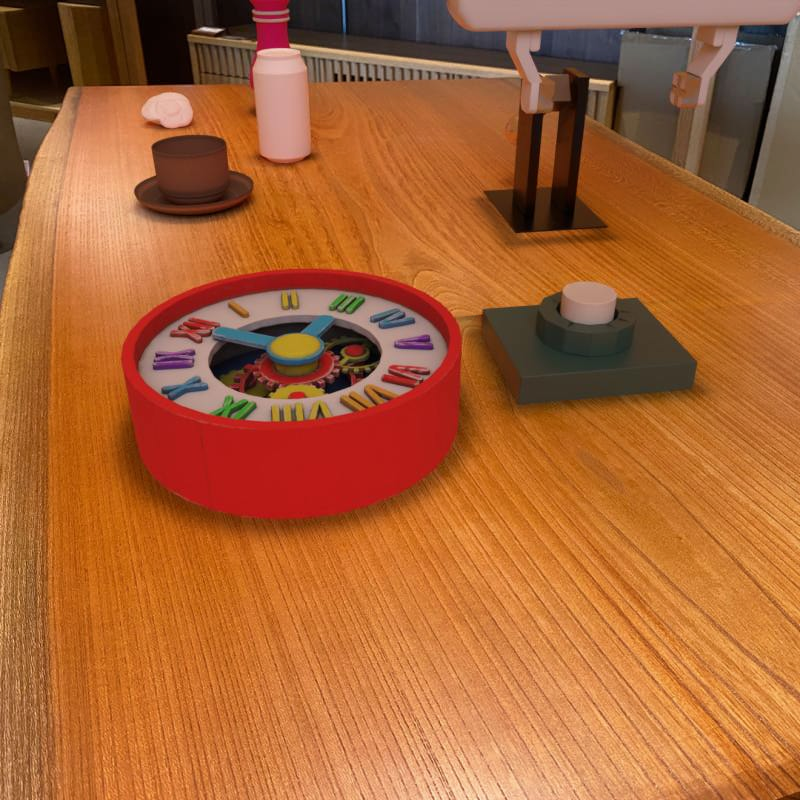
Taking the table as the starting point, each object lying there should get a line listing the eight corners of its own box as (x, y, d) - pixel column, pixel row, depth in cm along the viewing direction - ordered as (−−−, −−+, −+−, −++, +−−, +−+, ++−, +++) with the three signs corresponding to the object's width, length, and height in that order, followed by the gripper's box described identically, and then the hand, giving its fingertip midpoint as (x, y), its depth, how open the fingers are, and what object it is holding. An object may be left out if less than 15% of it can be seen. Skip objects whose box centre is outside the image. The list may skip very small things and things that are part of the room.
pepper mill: (285, 104, 124) (275, -49, 114) (313, 113, 120) (305, -45, 109) (243, 111, 121) (228, -46, 110) (270, 121, 116) (257, -42, 105)
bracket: (482, 201, 88) (490, 62, 80) (565, 197, 89) (580, 59, 82) (514, 244, 78) (526, 89, 70) (606, 238, 79) (628, 85, 72)
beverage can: (250, 157, 101) (240, 51, 95) (292, 148, 105) (285, 45, 98) (279, 169, 97) (271, 59, 91) (322, 158, 101) (317, 52, 94)
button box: (632, 323, 64) (640, 274, 62) (692, 390, 56) (703, 337, 54) (480, 335, 63) (483, 285, 60) (518, 406, 54) (523, 352, 52)
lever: (502, 153, 88) (499, 118, 88) (535, 151, 89) (532, 117, 89) (540, 108, 75) (537, 68, 75) (579, 106, 76) (575, 67, 76)
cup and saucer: (125, 196, 89) (115, 137, 86) (234, 179, 94) (228, 123, 91) (152, 232, 80) (142, 168, 77) (271, 212, 85) (266, 151, 82)
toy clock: (381, 466, 39) (42, 381, 45) (382, 560, 42) (65, 468, 49) (503, 296, 55) (239, 251, 61) (498, 374, 58) (246, 323, 64)
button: (602, 302, 59) (605, 279, 58) (621, 325, 56) (625, 301, 55) (552, 305, 59) (555, 282, 58) (570, 329, 56) (573, 305, 55)
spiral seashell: (194, 121, 117) (195, 94, 114) (190, 138, 113) (191, 110, 110) (142, 113, 116) (142, 85, 113) (136, 130, 112) (136, 101, 109)
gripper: (464, -177, 39) (453, 128, 46) (867, -172, 42) (796, 115, 49) (437, -171, 44) (431, 102, 51) (796, -167, 47) (742, 91, 54)
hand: (612, 108), depth 50 cm, fingers open, 8 cm apart
